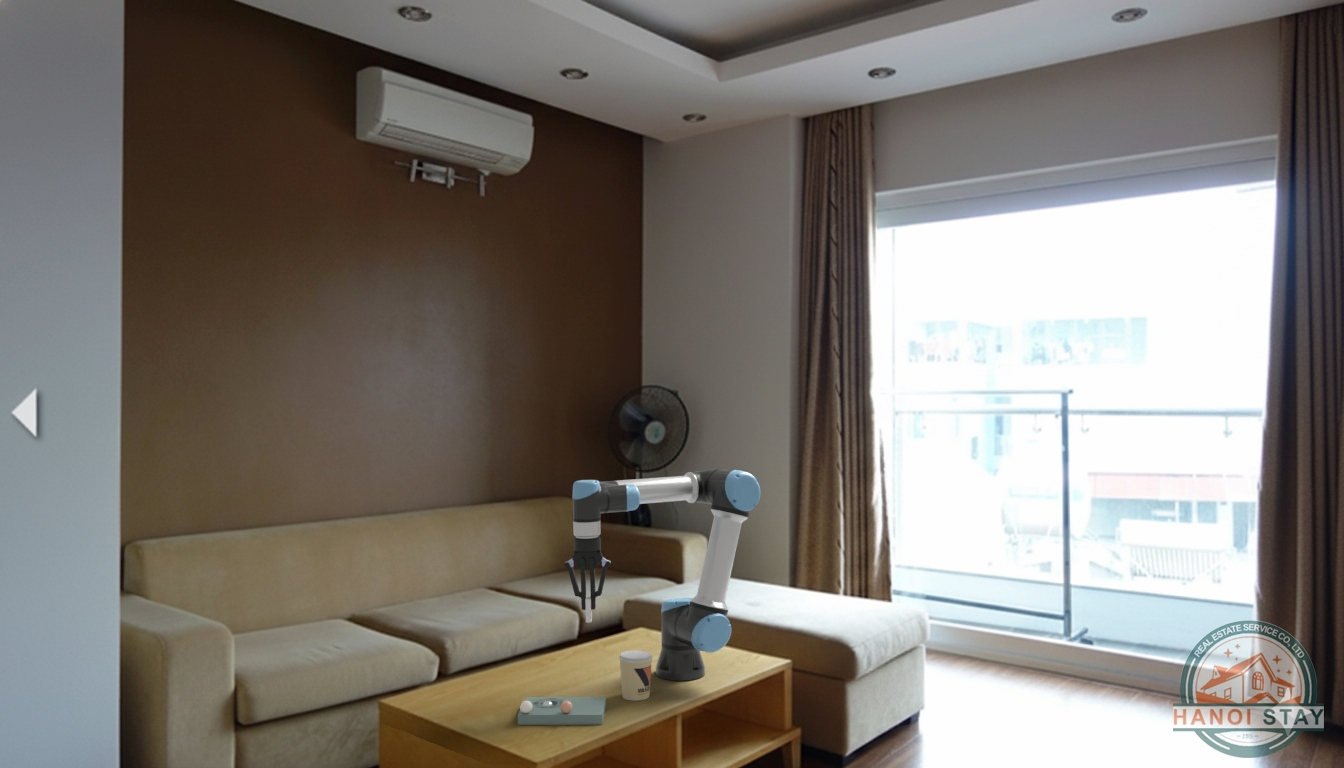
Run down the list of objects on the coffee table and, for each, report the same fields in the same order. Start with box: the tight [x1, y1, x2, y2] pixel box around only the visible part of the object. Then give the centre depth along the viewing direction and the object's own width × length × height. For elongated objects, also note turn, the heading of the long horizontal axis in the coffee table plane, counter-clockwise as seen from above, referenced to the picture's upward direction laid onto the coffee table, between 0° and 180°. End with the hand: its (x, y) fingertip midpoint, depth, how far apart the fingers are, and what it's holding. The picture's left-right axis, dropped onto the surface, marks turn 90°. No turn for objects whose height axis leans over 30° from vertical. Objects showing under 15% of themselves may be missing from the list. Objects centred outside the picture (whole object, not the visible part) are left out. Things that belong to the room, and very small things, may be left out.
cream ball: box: [519, 700, 532, 713], centre depth 251 cm, size 3×3×3 cm
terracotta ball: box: [560, 700, 572, 713], centre depth 251 cm, size 3×3×3 cm
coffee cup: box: [618, 649, 653, 701], centre depth 273 cm, size 9×9×12 cm
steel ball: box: [542, 701, 553, 706], centre depth 258 cm, size 3×3×3 cm
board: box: [517, 696, 607, 726], centre depth 257 cm, size 22×15×2 cm
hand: (588, 621), depth 265 cm, fingers closed
